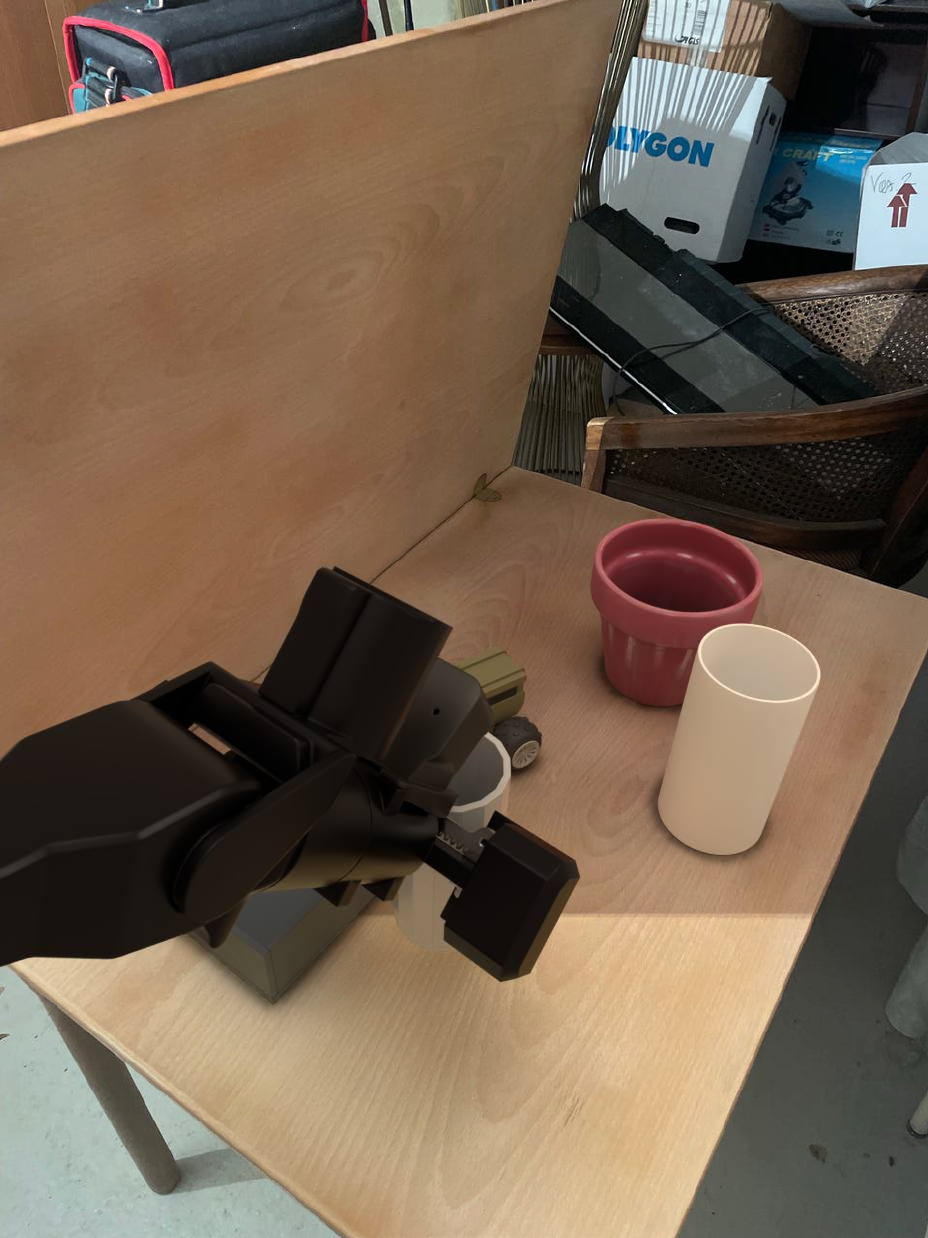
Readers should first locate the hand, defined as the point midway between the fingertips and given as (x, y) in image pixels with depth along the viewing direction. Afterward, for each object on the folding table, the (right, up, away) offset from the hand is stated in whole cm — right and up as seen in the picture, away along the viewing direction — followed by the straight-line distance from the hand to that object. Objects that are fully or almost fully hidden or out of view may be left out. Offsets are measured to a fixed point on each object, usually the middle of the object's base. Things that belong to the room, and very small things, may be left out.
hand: (462, 825), depth 53 cm
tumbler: (-1, -6, +3) cm, 7 cm away
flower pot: (+18, +7, +31) cm, 37 cm away
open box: (-14, -7, +12) cm, 19 cm away
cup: (+20, -3, +19) cm, 27 cm away
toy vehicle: (-1, +1, +23) cm, 23 cm away
